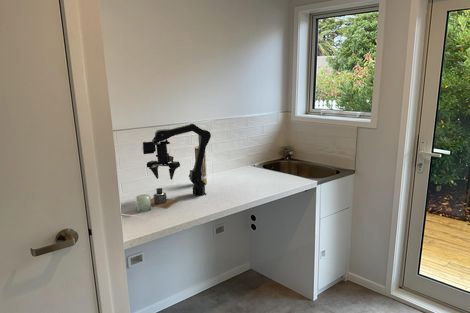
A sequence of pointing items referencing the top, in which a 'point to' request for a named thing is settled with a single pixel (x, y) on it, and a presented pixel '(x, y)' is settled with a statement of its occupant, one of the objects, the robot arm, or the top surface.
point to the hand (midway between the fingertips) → (164, 179)
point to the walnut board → (166, 205)
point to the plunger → (159, 192)
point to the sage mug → (143, 203)
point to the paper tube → (203, 169)
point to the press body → (160, 199)
